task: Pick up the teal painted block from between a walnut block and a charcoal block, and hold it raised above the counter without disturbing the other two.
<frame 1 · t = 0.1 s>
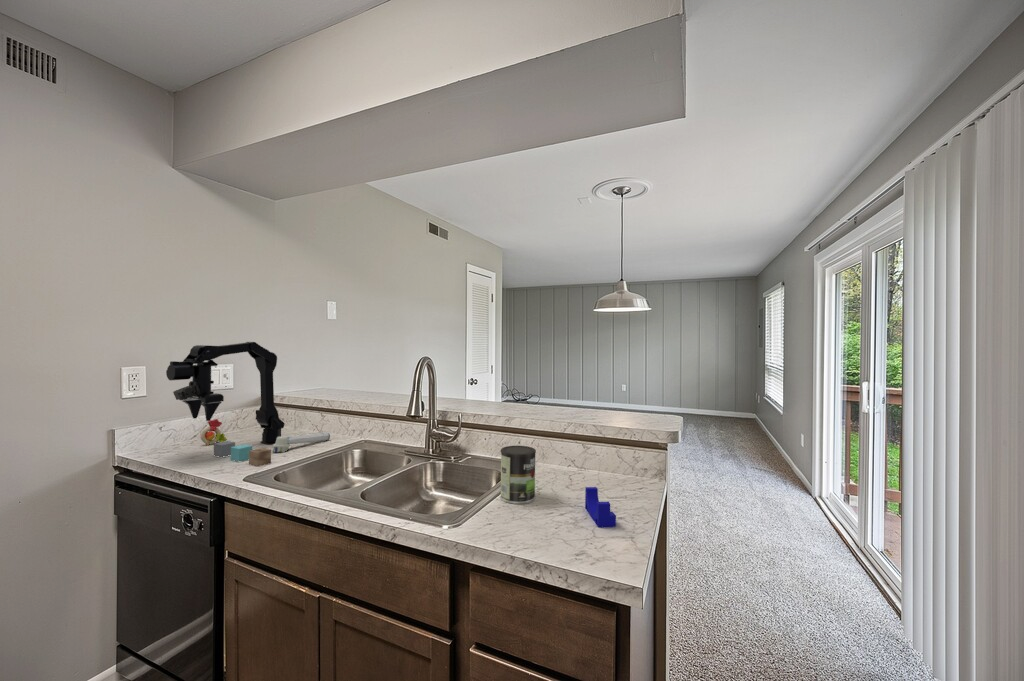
hand: (201, 419, 158), 15 cm above the worktop, tool pointing down, fingers open, 9 cm apart
blue stepped block: (599, 518, 110), on the worktop
charcoal block: (224, 455, 162), on the worktop
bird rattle: (213, 444, 179), on the worktop
coffee can: (517, 498, 123), on the worktop
teal block: (241, 459, 157), on the worktop
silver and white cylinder: (302, 447, 178), on the worktop
walnut block: (259, 463, 152), on the worktop
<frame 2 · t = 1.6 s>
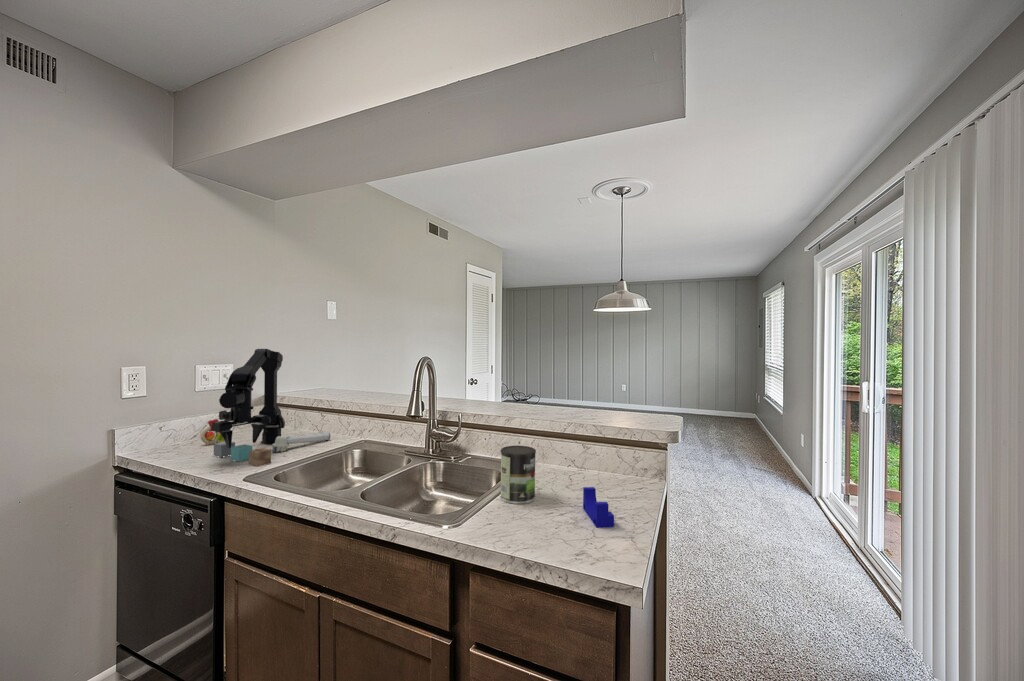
hand: (241, 445, 157), 5 cm above the worktop, tool pointing down, fingers open, 9 cm apart
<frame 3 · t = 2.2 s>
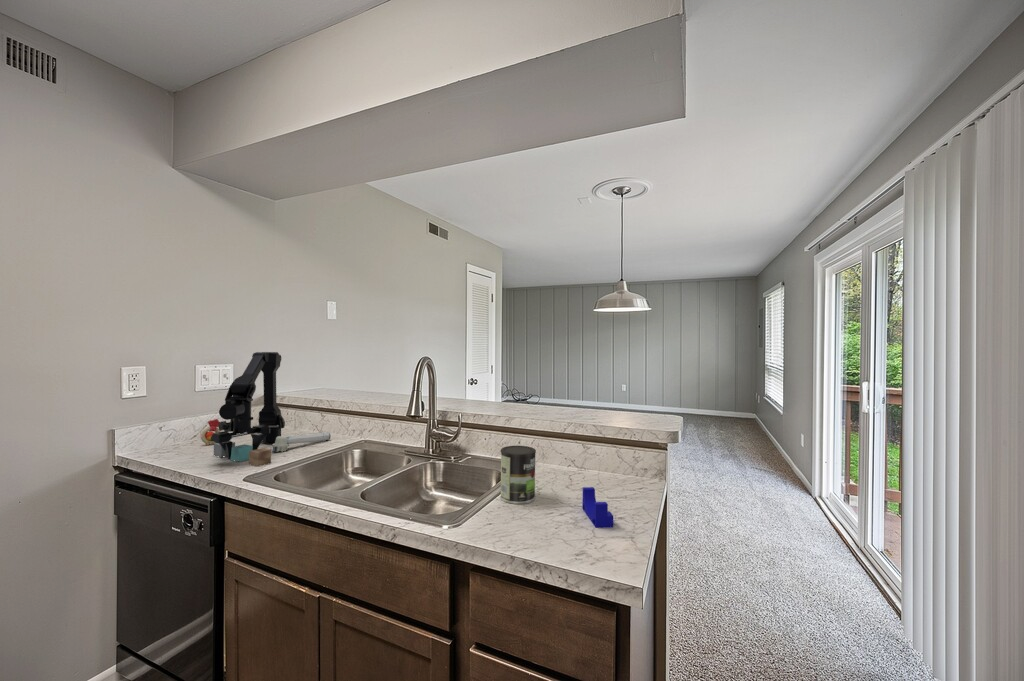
hand: (241, 456, 157), 1 cm above the worktop, tool pointing down, fingers open, 9 cm apart
nothing on the worktop moved.
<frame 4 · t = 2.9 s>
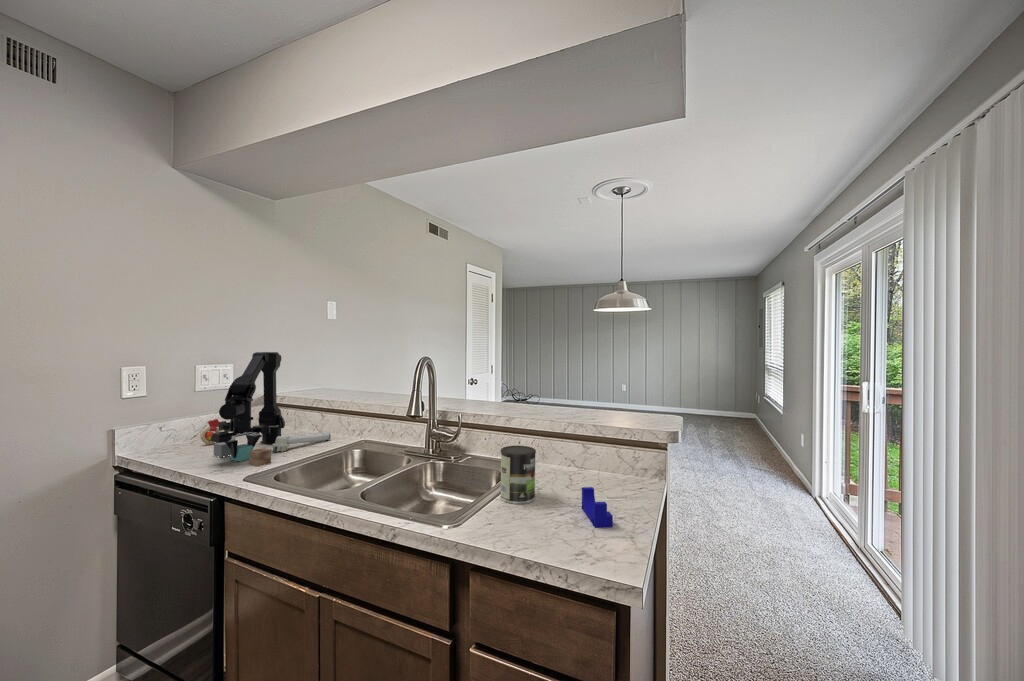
hand: (241, 456, 157), 1 cm above the worktop, tool pointing down, fingers closed on teal block, 5 cm apart
teal block: (241, 459, 157), on the worktop, touching gripper
everything else where it was.
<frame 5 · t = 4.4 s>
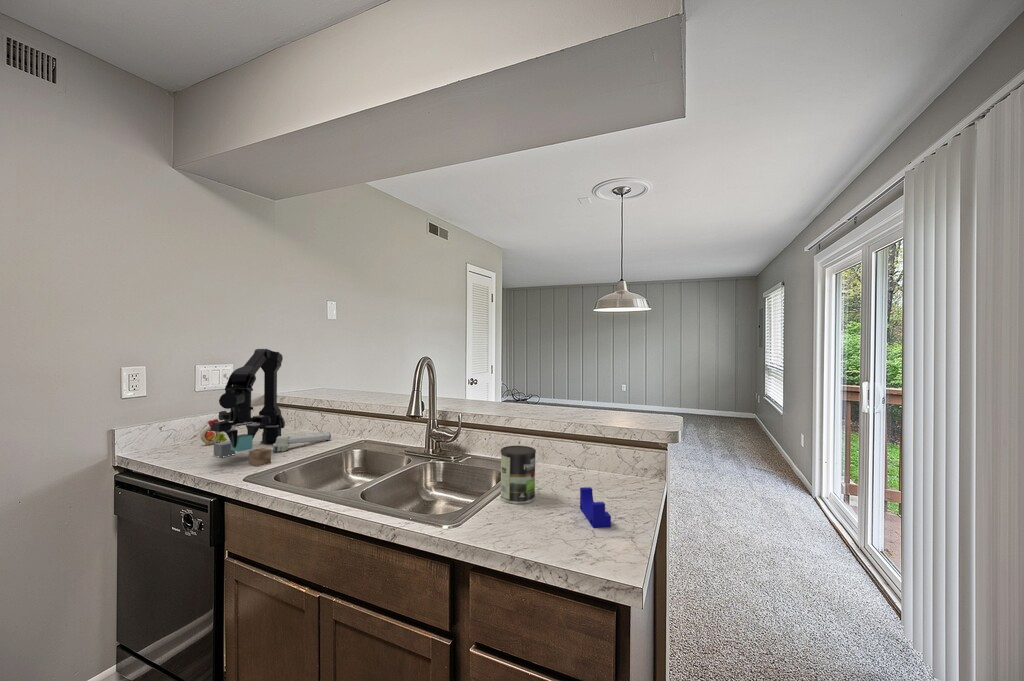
hand: (241, 445, 157), 5 cm above the worktop, tool pointing down, fingers closed on teal block, 5 cm apart
teal block: (241, 449, 157), point 4 cm above the worktop, touching gripper
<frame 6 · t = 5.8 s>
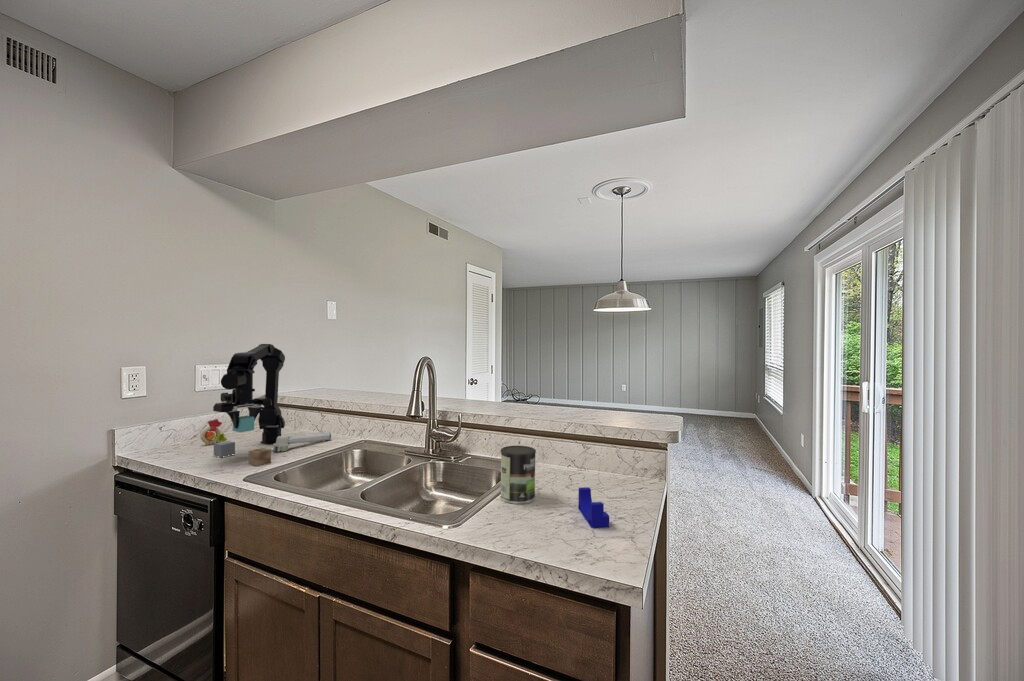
hand: (243, 427, 159), 12 cm above the worktop, tool pointing down, fingers closed on teal block, 5 cm apart
teal block: (243, 430, 159), point 11 cm above the worktop, touching gripper
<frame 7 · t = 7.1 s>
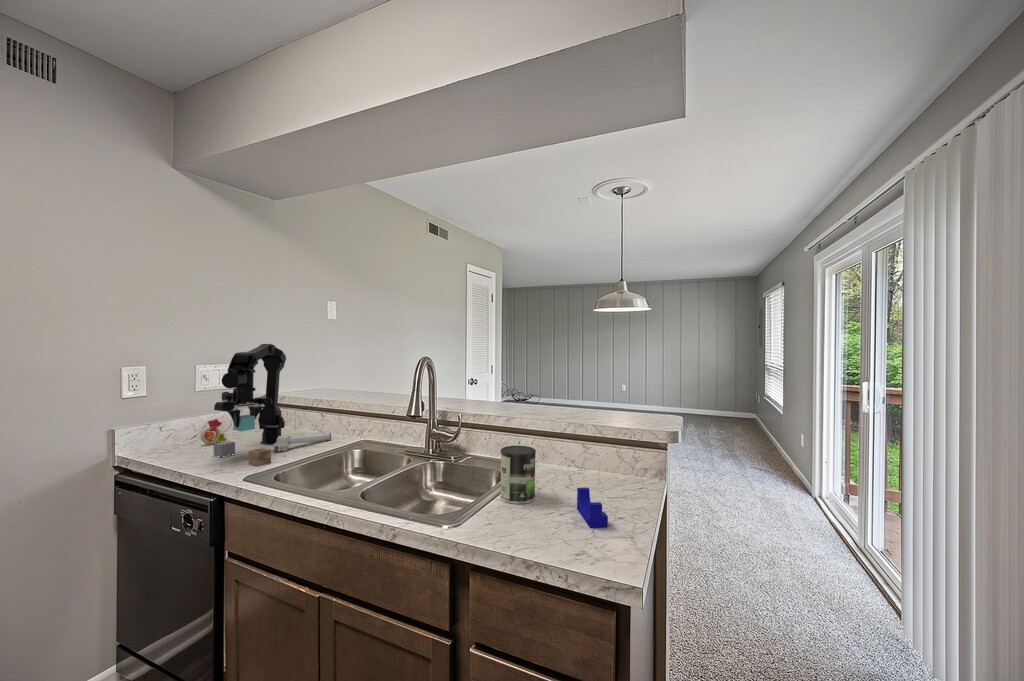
hand: (244, 426, 160), 12 cm above the worktop, tool pointing down, fingers closed on teal block, 5 cm apart
teal block: (244, 429, 160), point 11 cm above the worktop, touching gripper
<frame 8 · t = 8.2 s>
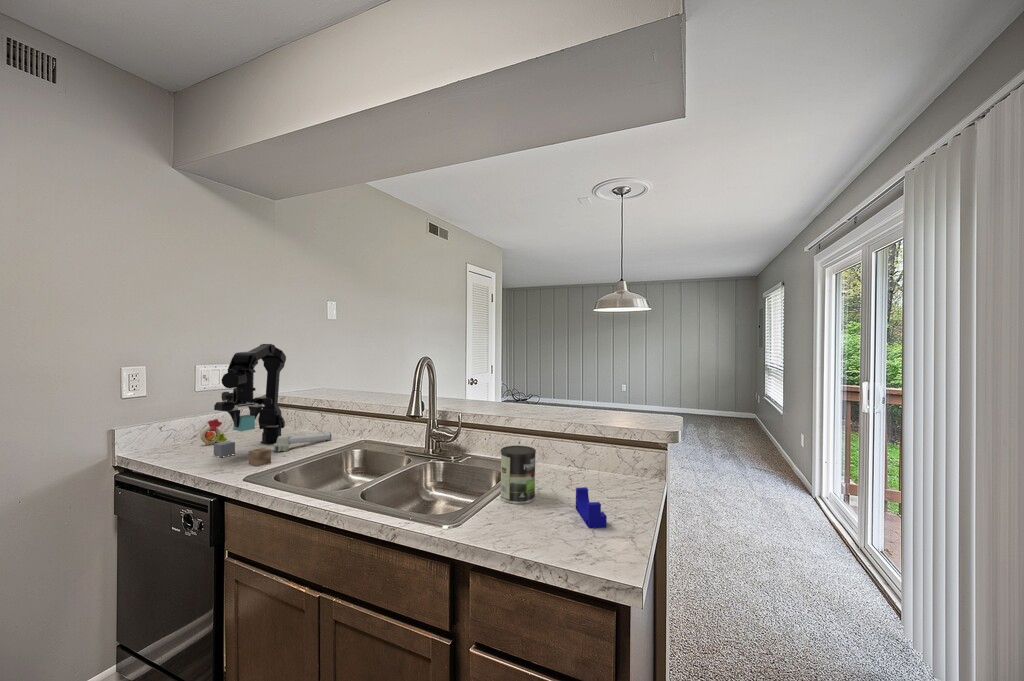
hand: (244, 426, 160), 12 cm above the worktop, tool pointing down, fingers closed on teal block, 5 cm apart
teal block: (244, 429, 160), point 11 cm above the worktop, touching gripper
at the end: the gripper is holding teal block; teal block point 10.7 cm above the worktop; walnut block moved 0.1 cm from its start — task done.
